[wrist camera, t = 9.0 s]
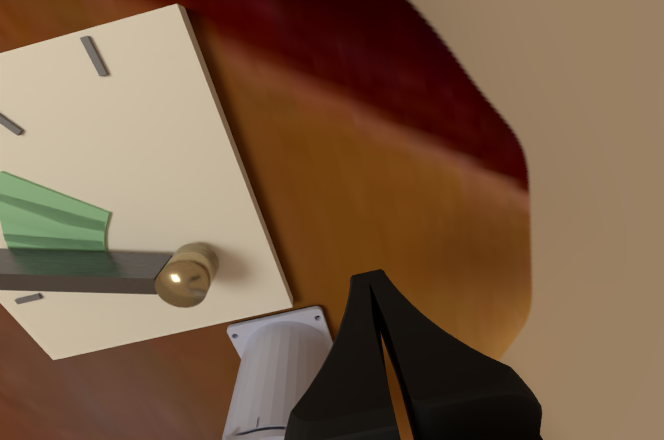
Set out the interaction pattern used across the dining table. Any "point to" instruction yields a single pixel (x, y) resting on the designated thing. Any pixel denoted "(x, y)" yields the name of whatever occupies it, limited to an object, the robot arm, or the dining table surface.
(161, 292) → the grey metal bar
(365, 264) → the dining table surface
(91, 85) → the dial plate
